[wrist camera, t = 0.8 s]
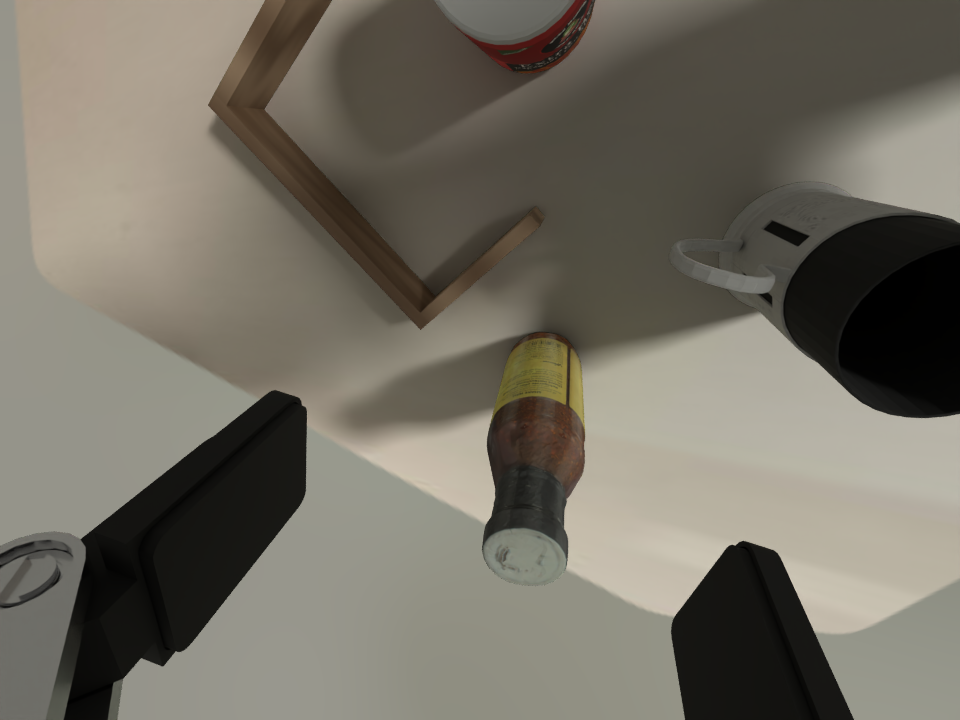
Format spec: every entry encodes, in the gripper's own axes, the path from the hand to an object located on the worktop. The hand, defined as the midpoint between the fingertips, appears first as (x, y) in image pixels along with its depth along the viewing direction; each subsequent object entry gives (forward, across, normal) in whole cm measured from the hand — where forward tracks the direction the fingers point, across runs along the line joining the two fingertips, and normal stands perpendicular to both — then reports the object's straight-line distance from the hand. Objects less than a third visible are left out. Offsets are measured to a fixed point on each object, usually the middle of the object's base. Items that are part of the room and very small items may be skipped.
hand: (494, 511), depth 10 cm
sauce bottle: (+27, -2, +10) cm, 29 cm away
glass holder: (+27, -12, -4) cm, 30 cm away
